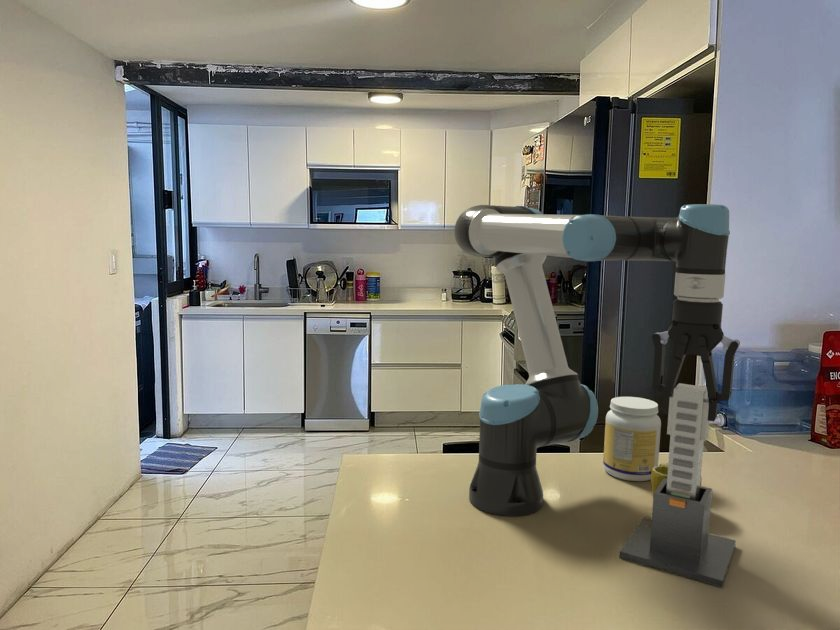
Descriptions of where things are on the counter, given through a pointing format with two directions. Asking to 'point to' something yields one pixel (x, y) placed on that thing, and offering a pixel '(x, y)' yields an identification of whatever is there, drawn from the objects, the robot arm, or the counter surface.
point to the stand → (680, 539)
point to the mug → (659, 475)
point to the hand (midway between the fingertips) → (687, 435)
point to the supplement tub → (632, 438)
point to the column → (686, 442)
